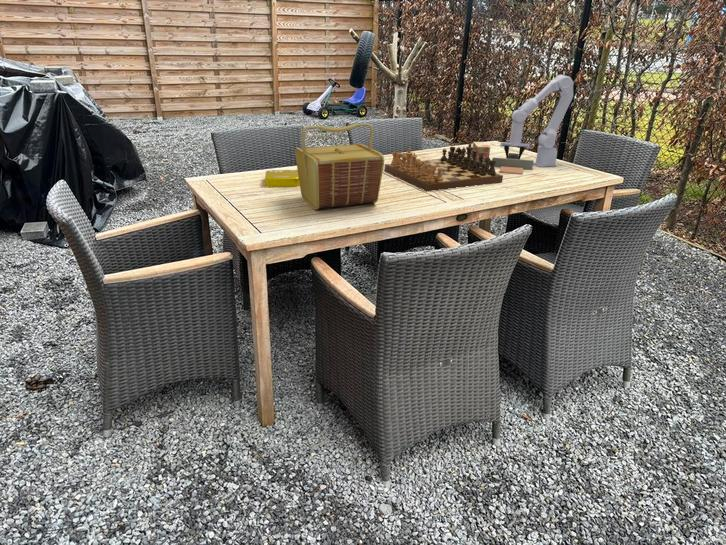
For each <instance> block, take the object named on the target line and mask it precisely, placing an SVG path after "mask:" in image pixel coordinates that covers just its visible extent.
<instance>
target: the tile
mask: <svg viewBox="0 0 726 545" xmlns="http://www.w3.org/2000/svg"><path fill="white" fill-rule="evenodd" d="M498 174H509V175H510V174H511V175H521V176H522V175H524V169H523V168H517V167H504V166H501V167H499V173H498Z"/></svg>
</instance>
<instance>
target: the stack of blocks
mask: <svg viewBox="0 0 726 545" xmlns="http://www.w3.org/2000/svg"><path fill="white" fill-rule="evenodd" d="M471 147H473V149H472V150H474V148H476V150H478V152H477V157H476V161H478V160H479V155H480V154H481V153H483V156H484V159H483V161H484V160H485V158H487V157H489V158H490V153H491V146H490V145H489V143H487V142H485V141H473V142H472V143H471ZM471 152H472V151H471ZM472 154H473V152H472ZM472 154H471V155H470V157H471V159H473V157H472ZM482 163H484V162H482ZM485 163H486V162H485Z"/></svg>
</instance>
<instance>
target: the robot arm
mask: <svg viewBox="0 0 726 545" xmlns="http://www.w3.org/2000/svg"><path fill="white" fill-rule="evenodd" d="M557 91H558V92H559V94H560V99H559V100H558V102H557V105H556V107H555V110H554V111H553V114H552V116H551V117H550V120H549V122H548V124H547V126H546V128H545V129H543V131H542V133H541V134H540V135H539V136H538V138H537V143H538V147H537V153H536V157H535V162H534V161H533V165H535V166H536V167H537V166H538V167H543V168H544V167H556V166H557V165H556V162H557V157H558V150H557V149H556V147H555V145H556V138H557V136H558V129H559V127H560V125H561V122H562V121H563V119H564V117H565V115H566V112H567V110H568V108H569V106H570V104H571V102H572V101H573V98H574V80H573V79H572V78H571V76H569V75H564V74H558V75H556V76H555V77H554V78H553V79H552V80H550V82H548V83H547V85H545V86H544V87H543V88H542V89H541V90H540V91H539V92H538V93H537V94H535V96H534V97H529V99H527V98H526V100H525V102H524V103H523V104H522V105H521V106H519V107H517V109H516V110H514V111H513V112H512V114H511V119H512V122H511V127H510V135H509V136H510V137H509V141H508V142H507V141H500V144H499V147H503V149H504V152H505V156H506V157H505V158H508V155H509V153H510V148H519V151H518V152H519V153H518V154H519V156H518V159H521V157H522V155H523V154H524V152H525V149H530V145H531V144H530V143H525V142H524V143H523V142H522V137H523V130H524V122H525V121H526V120H527V117H528V116H529V115H530V114H532V113H533V112H534V111H535V110H536V109H537V108H538V106H539V103H540V102H542V100H544V98H546V97H548V95H550V94H551V93H552V92H557Z"/></svg>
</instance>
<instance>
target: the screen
mask: <svg viewBox="0 0 726 545" xmlns="http://www.w3.org/2000/svg"><path fill="white" fill-rule="evenodd" d="M492 160H494V161H496V165H495V168H500V167H501V166H504V167H517V168H523V170H529V171H533V168H534V167H533V166H534V164H533V163H534V160H533V159H521V158H520V159H508V158H506V157H495V156H494V157H492Z"/></svg>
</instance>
